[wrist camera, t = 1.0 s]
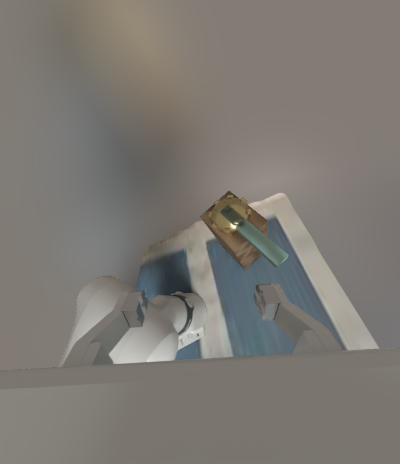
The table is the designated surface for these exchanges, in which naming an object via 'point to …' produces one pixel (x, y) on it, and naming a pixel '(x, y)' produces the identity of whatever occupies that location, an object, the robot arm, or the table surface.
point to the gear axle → (244, 227)
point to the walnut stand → (238, 237)
